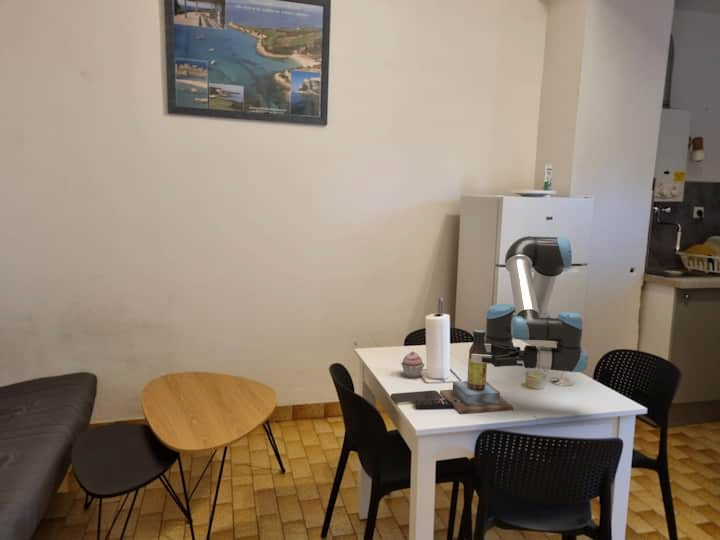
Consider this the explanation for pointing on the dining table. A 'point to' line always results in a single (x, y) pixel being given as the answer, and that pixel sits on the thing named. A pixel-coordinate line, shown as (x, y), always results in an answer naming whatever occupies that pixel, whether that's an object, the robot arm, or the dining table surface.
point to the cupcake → (412, 365)
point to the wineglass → (561, 380)
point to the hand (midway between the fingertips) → (471, 352)
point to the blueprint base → (475, 408)
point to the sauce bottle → (477, 369)
